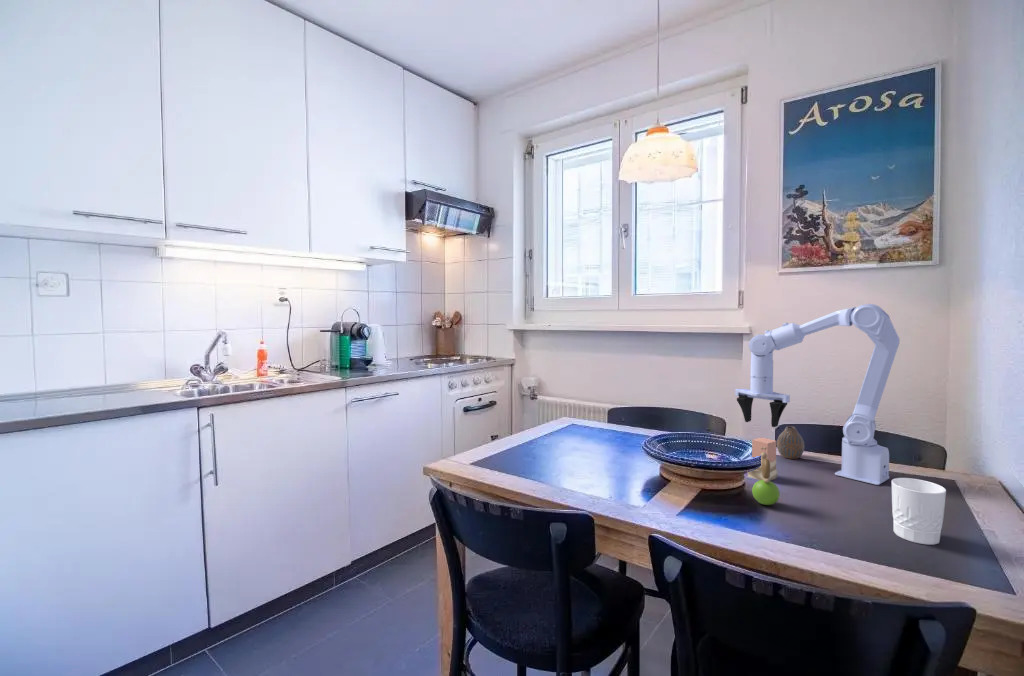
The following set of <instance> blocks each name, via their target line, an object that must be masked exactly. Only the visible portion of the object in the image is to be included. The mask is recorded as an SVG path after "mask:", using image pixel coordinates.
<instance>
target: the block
mask: <svg viewBox="0 0 1024 676" xmlns="http://www.w3.org/2000/svg"><path fill="white" fill-rule="evenodd" d="M751 447H752V448H751V450H752V451H751V453H752V454H751V458H752V457H756V456H760V455H761V453H763V452H765V453H766V454H767V459H768V460H769V462H772V461H775V460H776V461H777V440H776V439H775V440H773V439H769V438H764V437H758V438H754V439H752V441H751ZM761 447H763V449H761ZM764 447H766V448H767V449H766V450H765V449H764Z"/></svg>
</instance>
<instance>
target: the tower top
mask: <svg viewBox="0 0 1024 676" xmlns="http://www.w3.org/2000/svg"><path fill="white" fill-rule="evenodd" d="M775 469H777V459H776V460H775V461H772V462H770V472H772V471H774V470H775ZM755 471H759V472H762V471H761V466H760V467H759V468H758V469H756V470H755Z"/></svg>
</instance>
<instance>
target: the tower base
mask: <svg viewBox="0 0 1024 676" xmlns="http://www.w3.org/2000/svg"><path fill="white" fill-rule="evenodd" d="M747 478H752V479H755V480H756V481H759V480H763V478H762V472H759V471H755V470H754V471H751V472H748V471H747ZM777 478H778V468H776V469H775V470H774V471H772V472H770V477H769V480H770V481H771V482H772V481H773V480H776V479H777Z"/></svg>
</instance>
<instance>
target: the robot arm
mask: <svg viewBox="0 0 1024 676" xmlns="http://www.w3.org/2000/svg"><path fill="white" fill-rule="evenodd" d="M781 324H782V326H780V327H777V328H774V329H772V330H769V329H768V330H765V331H764V333H763V334H756V335H755V336H753V337H752V338H750V340H749V343H748V349H749V351H750V380H749V381H750V385H749V386H750V389H749V388H735V390H734V396H735V397H737V398H736V401H737V403H738V405H739V406H740V409H741V412H742V414H743V419H744V422H745V423H749V422H751V421H752V406H753V402H754V399H759V400H760V399H761V400H767V401H771V402H769V407H770V412H771V415H770V416H771V417H770V418H771V419H770V420H771V421H770V424H771V427H772V428H776V427H778V426H779V423H780V422H779V421H780V418H781V416H782V414H783V412H784V410H785V408H786V407H787V405H788V403H790V401H791V400H790V399H791V396H790V394H786V393H785V394H784V393H779V392H776V391H775V392H774V360H773V359H774V358H773V357H774V351H780V350H783V349H786V348H790V347H793V346H795V345H798V344H800V343H802V342H803V341H804V338H805V337H806V336H808V335H811V334H815V333H817V332H821V331H823V330H826V329H830V328H833V327H836V326H840V327H851V326H852V327H853V325H854V327H856V328H857V329H859V331H862V332H863V333H865V334H866V335H867V337H868V338H869V339H870V340H871V341H872V342H873V344H874V347H873V350H872V352H871V353H872V354H871V356H870V357H871V358H870V360H869V363H868V367H867V368H866V373H865V375H864V378H863V381H862V384H861V388H860V391H859V394H858V398H857V400H856V403H855V406H854V409H853V412H852V413H851V414H850V415H849V416H848V417H847V420H846V422H845V424H844V425H843V427H842V433H843V437H842V438H841V439H842V440H841V469H839V470H837V471H836V472H834V475H835V476H839V477H842V478H846V479H851V480H854V481H860V482H864V483H867V484H872V485H875V486H879V485H881V484H882V483H884V482H886V481H888V480H889V479H890V478H891V477H890V476H889V473H890V450H889V448H888V447H885V446H882V445H880V444H878V441H877V440H876V439H875V438H874V437H875V431H876V429H877V425H876V424H877V423H876V421H875V417H876V415H877V412H878V408H879V406H880V403H881V400H882V396H883V393H884V390H885V387H886V385H887V382H888V378H889V376H890V372H891V369H892V367H893V364H894V361H895V357H896V354H897V352H898V348H899V346H900V340H901V339H900V336H899V335H898V333H897V331H896V329H895V326H894V324H893V322H892V320H891V318H890V315H889V314H888V313H887V312H886V311H885V310H884V309H883V308H882V307H880V306H879V305H876V304H873V303H866V304H861V305H858V306H857V307H856V306H855V307H848V308H845V309H840V310H836V311H833V312H830V313H828V314H826V315H823V316H820V317H818V318H815V319H813V320H810V321H808V322H805V323H803V324H797V323H794V322H791V323H789V322H785V323H781Z"/></svg>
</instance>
